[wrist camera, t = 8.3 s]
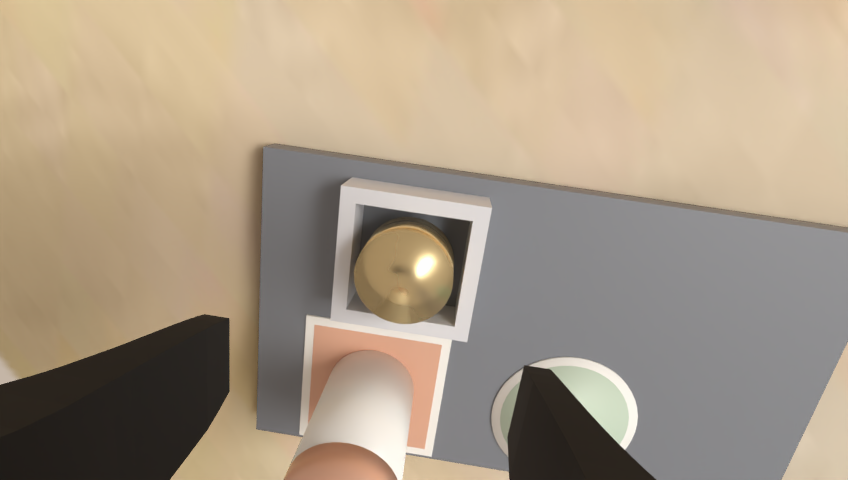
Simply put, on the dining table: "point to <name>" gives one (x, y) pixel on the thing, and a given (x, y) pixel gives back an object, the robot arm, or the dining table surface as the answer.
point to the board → (557, 312)
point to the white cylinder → (358, 422)
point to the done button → (405, 271)
